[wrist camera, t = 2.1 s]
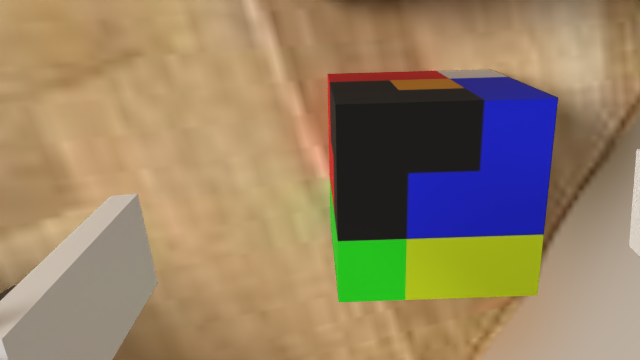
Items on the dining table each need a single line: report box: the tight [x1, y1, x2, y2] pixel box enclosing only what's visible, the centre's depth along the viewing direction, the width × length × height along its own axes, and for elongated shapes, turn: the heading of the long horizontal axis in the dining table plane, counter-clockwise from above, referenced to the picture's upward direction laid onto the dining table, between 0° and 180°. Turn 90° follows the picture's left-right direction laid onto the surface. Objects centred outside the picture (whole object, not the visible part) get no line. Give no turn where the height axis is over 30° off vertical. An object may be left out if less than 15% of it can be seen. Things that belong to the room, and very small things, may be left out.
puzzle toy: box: [328, 69, 558, 302], centre depth 32 cm, size 10×10×10 cm
